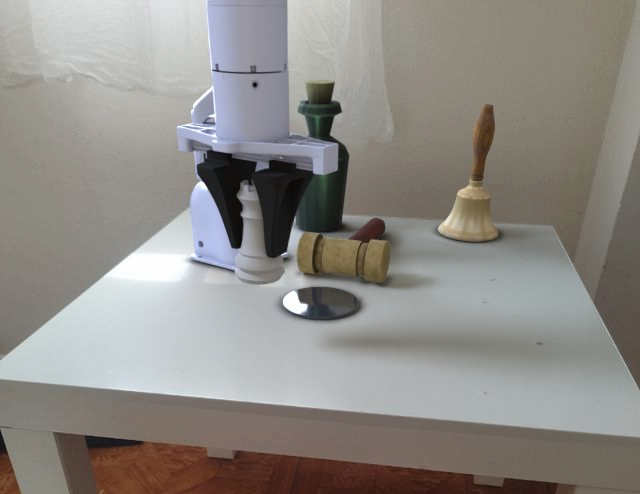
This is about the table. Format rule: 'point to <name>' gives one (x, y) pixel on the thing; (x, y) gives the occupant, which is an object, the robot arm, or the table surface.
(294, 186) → the robot arm
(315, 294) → the coaster
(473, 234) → the hand bell
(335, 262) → the gavel
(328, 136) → the potion bottle
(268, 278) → the rook chess piece
